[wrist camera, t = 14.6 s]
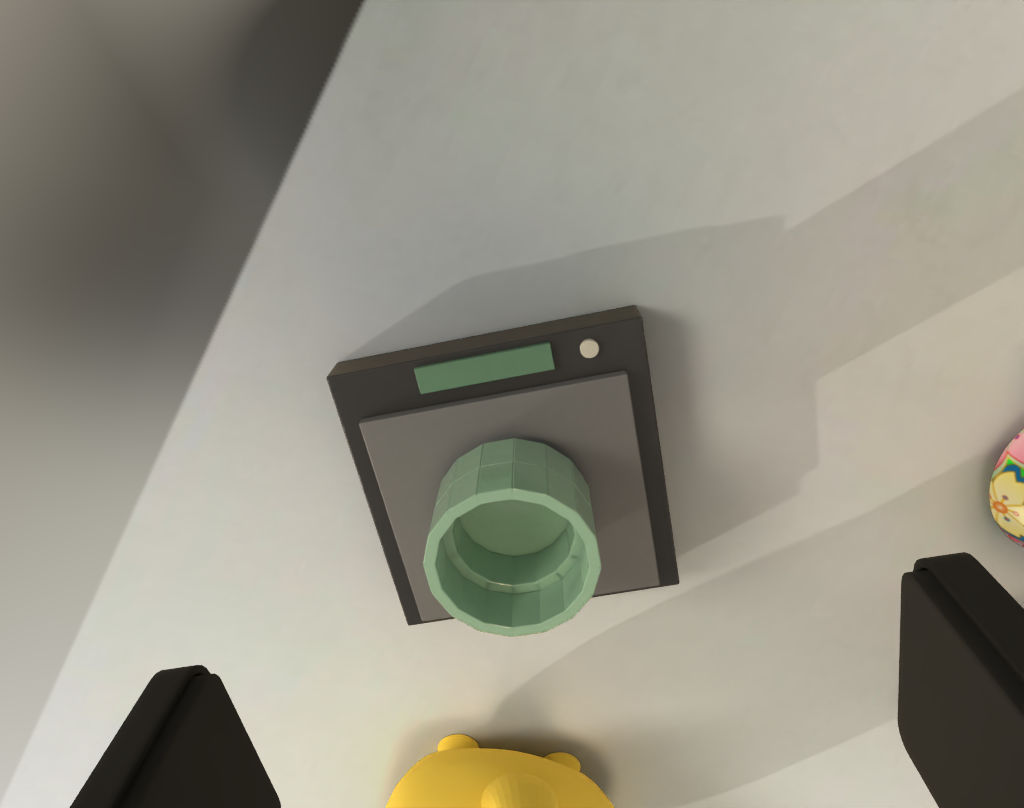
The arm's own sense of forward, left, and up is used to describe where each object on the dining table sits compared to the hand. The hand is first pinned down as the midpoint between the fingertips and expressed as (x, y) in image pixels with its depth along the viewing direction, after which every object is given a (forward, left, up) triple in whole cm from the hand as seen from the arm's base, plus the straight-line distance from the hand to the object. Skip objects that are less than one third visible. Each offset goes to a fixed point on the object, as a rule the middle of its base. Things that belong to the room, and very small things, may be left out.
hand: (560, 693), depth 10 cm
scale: (+9, -3, -24) cm, 25 cm away
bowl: (+9, -3, -21) cm, 23 cm away
